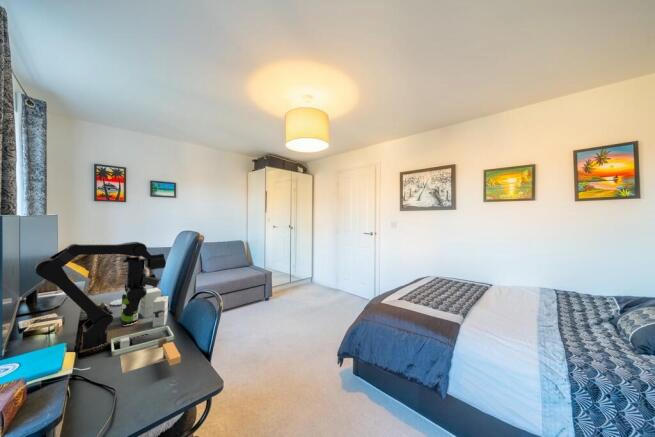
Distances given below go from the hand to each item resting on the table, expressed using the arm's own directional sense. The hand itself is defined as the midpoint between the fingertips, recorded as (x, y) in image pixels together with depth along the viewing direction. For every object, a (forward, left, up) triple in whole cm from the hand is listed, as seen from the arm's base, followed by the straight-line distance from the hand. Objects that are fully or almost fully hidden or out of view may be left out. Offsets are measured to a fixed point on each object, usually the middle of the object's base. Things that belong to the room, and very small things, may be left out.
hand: (134, 308), depth 103 cm
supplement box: (+9, +23, -12) cm, 28 cm away
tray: (+2, -10, -12) cm, 16 cm away
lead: (+2, -10, -12) cm, 15 cm away
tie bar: (+7, -35, -8) cm, 36 cm away
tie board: (+3, -24, -12) cm, 27 cm away
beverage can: (0, +15, -12) cm, 19 cm away
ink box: (+11, +8, -12) cm, 18 cm away
